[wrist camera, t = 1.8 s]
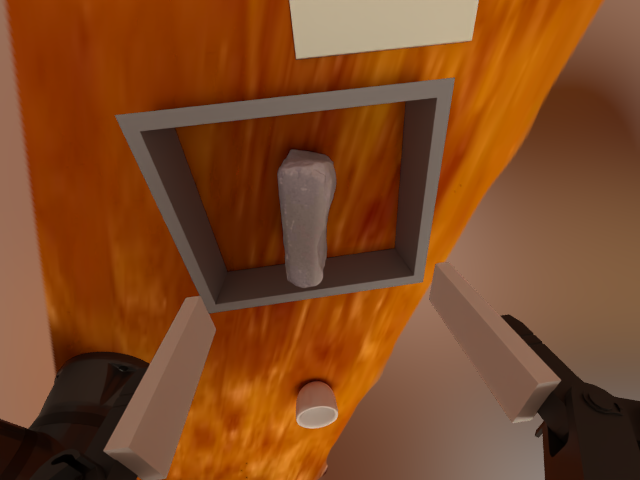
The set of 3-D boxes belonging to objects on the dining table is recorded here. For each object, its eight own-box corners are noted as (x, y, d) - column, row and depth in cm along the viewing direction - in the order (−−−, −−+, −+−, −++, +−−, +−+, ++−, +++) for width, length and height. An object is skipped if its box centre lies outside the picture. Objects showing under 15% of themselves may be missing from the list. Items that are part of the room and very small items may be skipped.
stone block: (280, 142, 25) (275, 165, 16) (326, 144, 26) (345, 166, 17) (284, 241, 31) (282, 295, 22) (322, 240, 32) (333, 293, 23)
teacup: (303, 373, 46) (305, 404, 41) (340, 378, 48) (345, 408, 43) (286, 401, 50) (286, 432, 45) (320, 405, 52) (323, 434, 48)
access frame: (221, 280, 33) (208, 313, 28) (155, 111, 23) (114, 115, 17) (402, 254, 34) (422, 282, 29) (419, 82, 24) (454, 77, 18)
